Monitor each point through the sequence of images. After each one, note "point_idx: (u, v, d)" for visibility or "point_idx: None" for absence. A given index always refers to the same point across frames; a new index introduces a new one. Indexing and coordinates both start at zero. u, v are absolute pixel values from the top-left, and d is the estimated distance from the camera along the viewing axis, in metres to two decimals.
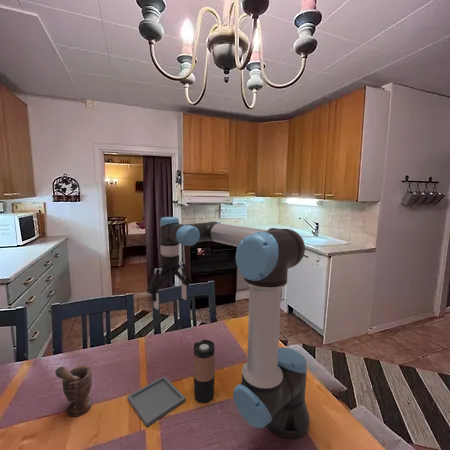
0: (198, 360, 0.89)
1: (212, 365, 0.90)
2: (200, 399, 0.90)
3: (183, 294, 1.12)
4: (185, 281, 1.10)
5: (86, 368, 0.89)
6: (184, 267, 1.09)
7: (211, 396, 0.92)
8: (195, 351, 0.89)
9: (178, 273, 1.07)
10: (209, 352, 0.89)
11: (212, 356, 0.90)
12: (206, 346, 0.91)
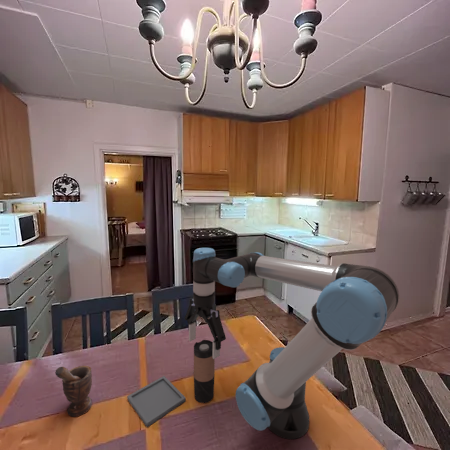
0: (198, 360, 0.89)
1: (212, 365, 0.90)
2: (200, 399, 0.90)
3: None
4: (213, 335, 0.85)
5: (86, 368, 0.89)
6: (213, 317, 0.84)
7: (211, 396, 0.92)
8: (195, 351, 0.89)
9: (205, 319, 0.87)
10: (209, 352, 0.88)
11: None
12: (206, 346, 0.91)
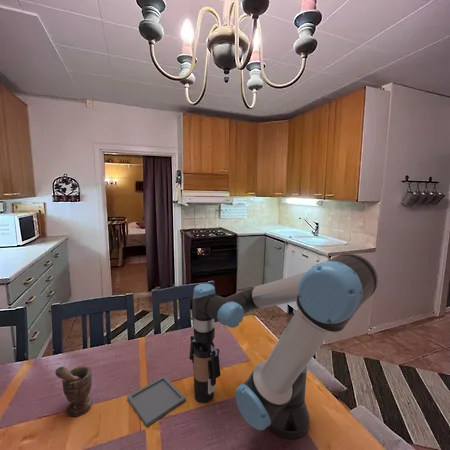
0: (198, 360, 0.89)
1: None
2: (200, 399, 0.90)
3: None
4: (209, 372, 0.88)
5: (86, 368, 0.89)
6: (212, 356, 0.86)
7: (211, 396, 0.92)
8: (195, 351, 0.89)
9: None
10: (209, 352, 0.89)
11: None
12: None
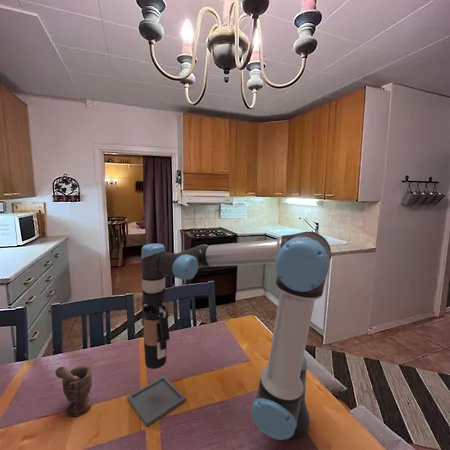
0: (146, 323, 0.84)
1: None
2: (150, 364, 0.86)
3: None
4: (158, 335, 0.84)
5: (86, 368, 0.89)
6: (160, 317, 0.82)
7: (162, 362, 0.87)
8: (144, 313, 0.85)
9: None
10: (158, 314, 0.84)
11: None
12: None
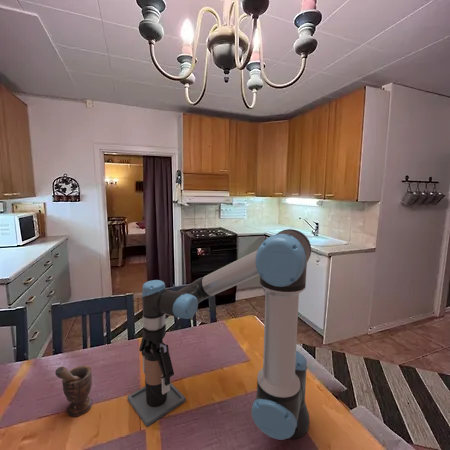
0: (147, 363, 0.86)
1: None
2: (151, 403, 0.88)
3: None
4: (162, 371, 0.84)
5: (86, 368, 0.89)
6: (161, 352, 0.83)
7: (163, 400, 0.89)
8: (145, 354, 0.87)
9: (154, 353, 0.86)
10: None
11: None
12: None
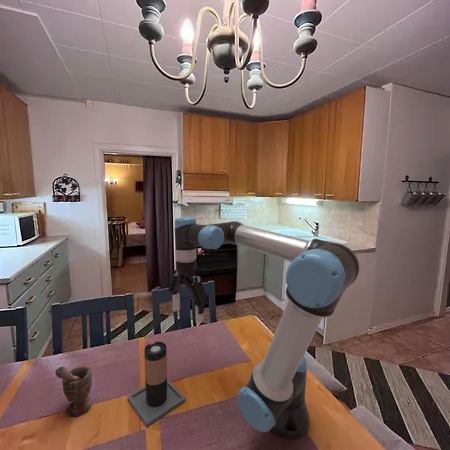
0: (147, 363, 0.86)
1: (163, 368, 0.88)
2: (151, 403, 0.88)
3: None
4: (196, 300, 0.88)
5: (86, 368, 0.89)
6: (195, 282, 0.87)
7: (163, 400, 0.89)
8: (145, 353, 0.87)
9: (188, 285, 0.89)
10: (159, 354, 0.86)
11: (163, 358, 0.87)
12: (157, 348, 0.89)
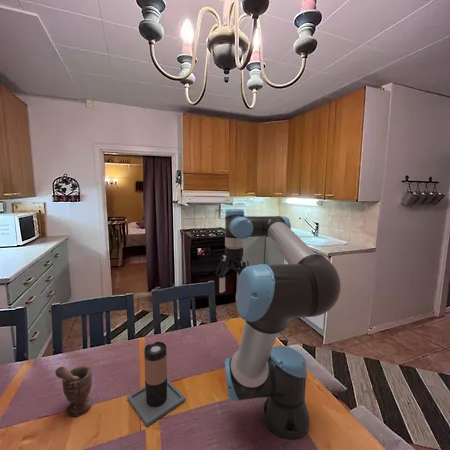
0: (147, 363, 0.86)
1: (163, 368, 0.88)
2: (151, 403, 0.88)
3: None
4: None
5: (86, 368, 0.89)
6: (243, 266, 0.99)
7: (163, 400, 0.89)
8: (145, 353, 0.87)
9: (236, 269, 1.01)
10: (159, 354, 0.86)
11: (163, 359, 0.87)
12: (157, 348, 0.89)
